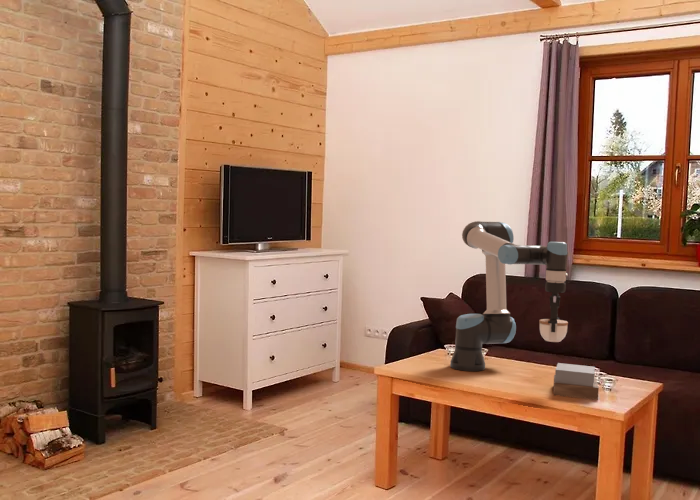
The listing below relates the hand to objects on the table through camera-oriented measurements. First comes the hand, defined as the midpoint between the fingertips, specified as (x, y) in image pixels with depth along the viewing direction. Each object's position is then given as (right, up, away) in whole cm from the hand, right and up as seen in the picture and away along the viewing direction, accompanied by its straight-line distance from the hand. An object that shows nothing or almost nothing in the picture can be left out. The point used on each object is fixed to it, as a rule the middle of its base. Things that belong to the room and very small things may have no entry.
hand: (552, 338), depth 287 cm
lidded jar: (0, -1, 0) cm, 1 cm away
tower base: (+8, -22, 0) cm, 23 cm away
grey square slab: (+8, -17, 0) cm, 18 cm away
